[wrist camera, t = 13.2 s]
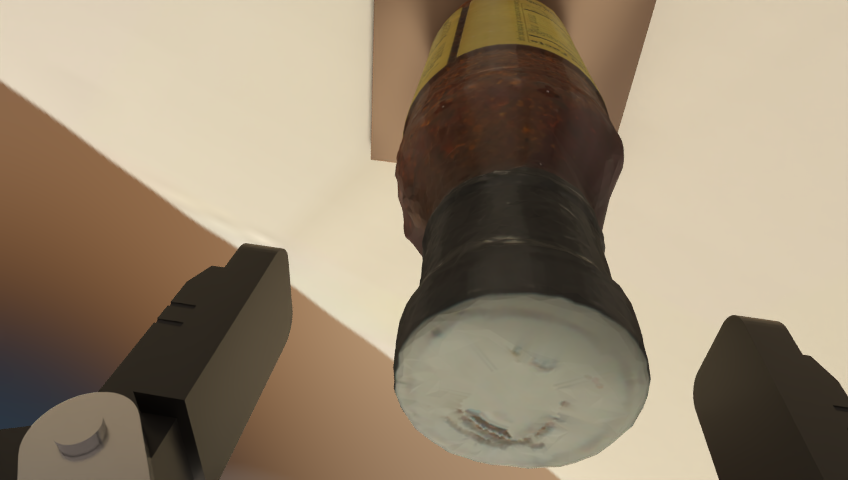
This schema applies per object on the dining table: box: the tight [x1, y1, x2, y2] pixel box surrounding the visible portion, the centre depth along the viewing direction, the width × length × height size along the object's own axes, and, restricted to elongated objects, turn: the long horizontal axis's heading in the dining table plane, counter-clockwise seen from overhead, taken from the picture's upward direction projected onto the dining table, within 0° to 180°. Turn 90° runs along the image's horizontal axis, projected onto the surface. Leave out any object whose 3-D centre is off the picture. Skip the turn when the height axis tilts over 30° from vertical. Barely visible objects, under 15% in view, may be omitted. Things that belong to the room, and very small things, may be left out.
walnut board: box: [371, 0, 656, 163], centre depth 25 cm, size 12×12×1 cm
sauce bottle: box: [393, 0, 651, 468], centre depth 17 cm, size 7×6×20 cm
